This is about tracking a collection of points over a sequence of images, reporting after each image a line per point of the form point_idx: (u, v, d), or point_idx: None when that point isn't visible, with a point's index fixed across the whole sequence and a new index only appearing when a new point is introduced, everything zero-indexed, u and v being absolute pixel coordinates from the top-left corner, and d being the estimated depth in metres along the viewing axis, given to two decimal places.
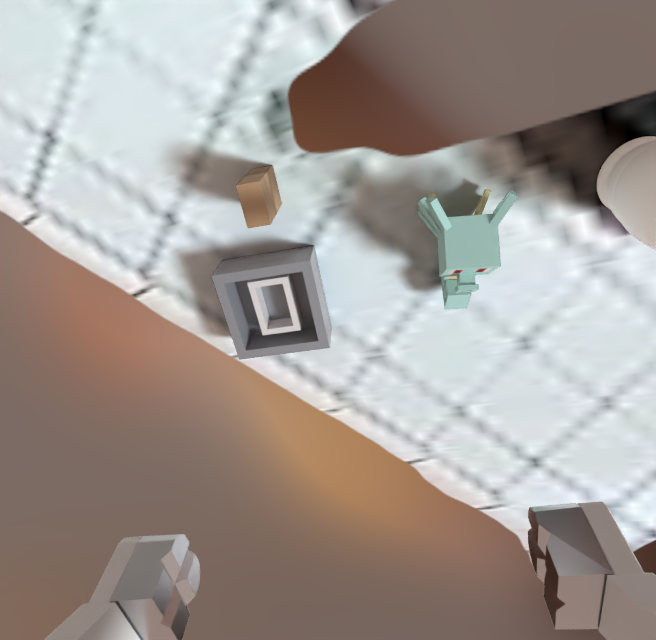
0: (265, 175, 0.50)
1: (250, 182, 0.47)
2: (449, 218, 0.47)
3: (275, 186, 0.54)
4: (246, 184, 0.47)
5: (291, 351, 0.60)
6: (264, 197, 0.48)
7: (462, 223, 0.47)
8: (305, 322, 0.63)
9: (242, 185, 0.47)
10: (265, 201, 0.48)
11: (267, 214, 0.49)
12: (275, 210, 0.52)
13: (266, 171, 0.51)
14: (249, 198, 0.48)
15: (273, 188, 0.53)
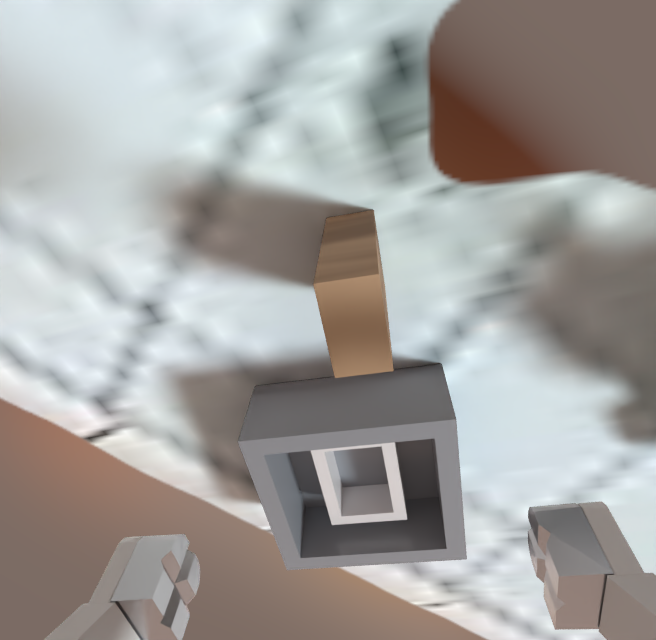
0: (376, 246, 0.20)
1: (351, 274, 0.18)
2: None
3: None
4: (341, 281, 0.18)
5: (389, 562, 0.31)
6: (384, 310, 0.19)
7: None
8: (409, 492, 0.33)
9: (331, 283, 0.18)
10: (385, 319, 0.19)
11: (388, 349, 0.19)
12: (387, 317, 0.23)
13: (372, 231, 0.22)
14: (346, 313, 0.18)
15: (380, 265, 0.23)
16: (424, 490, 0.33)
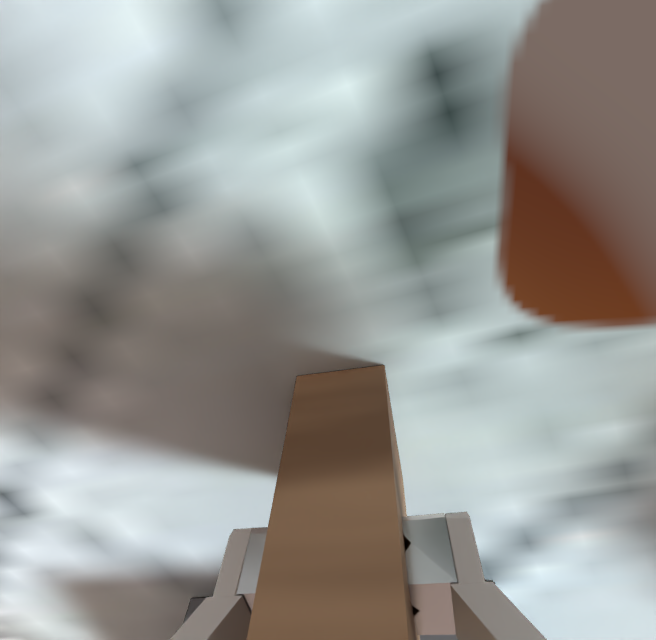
0: (398, 516, 0.09)
1: None
2: None
3: (396, 452, 0.13)
4: None
5: None
6: None
7: None
8: None
9: None
10: None
11: None
12: None
13: (385, 453, 0.10)
14: None
15: (399, 488, 0.12)
16: None
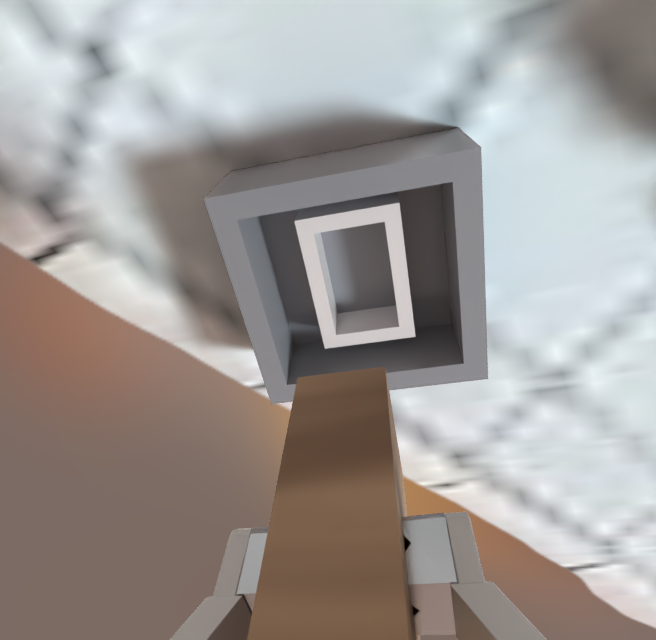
0: (398, 519, 0.09)
1: None
2: None
3: (397, 454, 0.13)
4: None
5: (394, 386, 0.26)
6: None
7: None
8: (417, 317, 0.28)
9: None
10: None
11: None
12: None
13: (386, 455, 0.10)
14: None
15: (400, 490, 0.12)
16: (435, 314, 0.28)
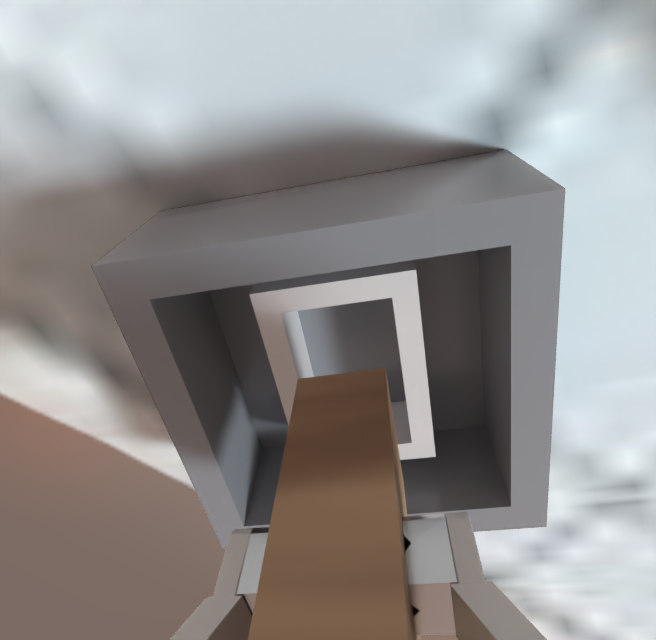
0: (398, 521, 0.09)
1: None
2: None
3: (397, 455, 0.13)
4: None
5: None
6: None
7: None
8: (436, 417, 0.20)
9: None
10: None
11: None
12: None
13: (386, 457, 0.10)
14: None
15: (400, 492, 0.12)
16: (462, 413, 0.19)
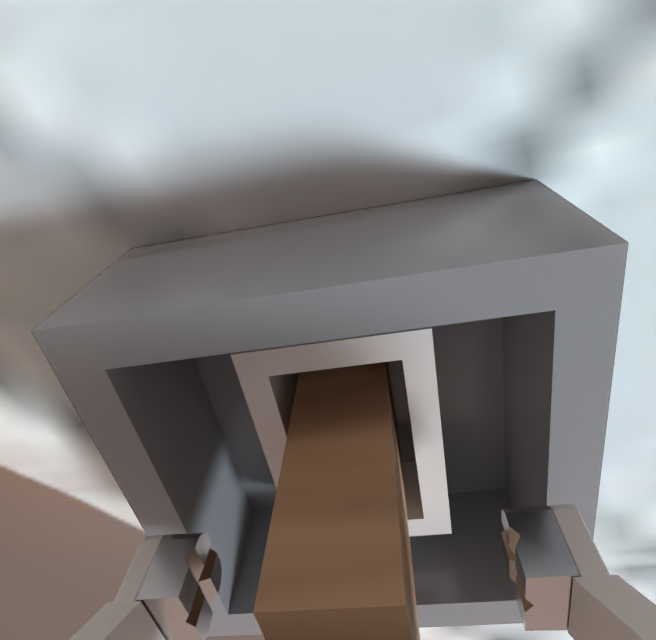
0: (394, 461, 0.10)
1: (341, 588, 0.08)
2: None
3: (394, 419, 0.14)
4: (319, 610, 0.08)
5: None
6: None
7: None
8: (451, 479, 0.17)
9: (295, 614, 0.08)
10: None
11: None
12: (409, 549, 0.13)
13: (384, 411, 0.11)
14: None
15: (396, 448, 0.13)
16: (480, 475, 0.17)
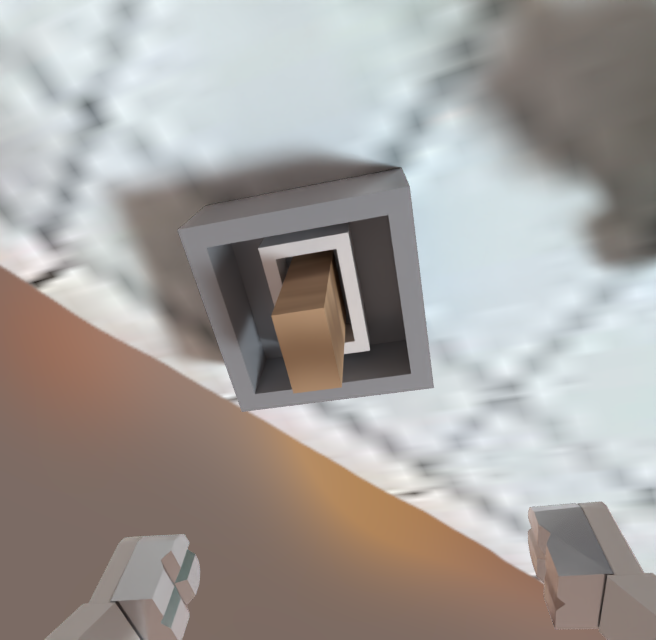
0: (328, 282, 0.24)
1: (302, 308, 0.22)
2: None
3: (338, 289, 0.28)
4: (294, 313, 0.22)
5: (351, 395, 0.29)
6: (331, 336, 0.23)
7: None
8: (375, 334, 0.31)
9: (286, 315, 0.22)
10: (332, 344, 0.23)
11: (336, 369, 0.23)
12: (342, 342, 0.27)
13: (327, 270, 0.26)
14: (300, 339, 0.22)
15: (337, 297, 0.27)
16: (390, 331, 0.31)
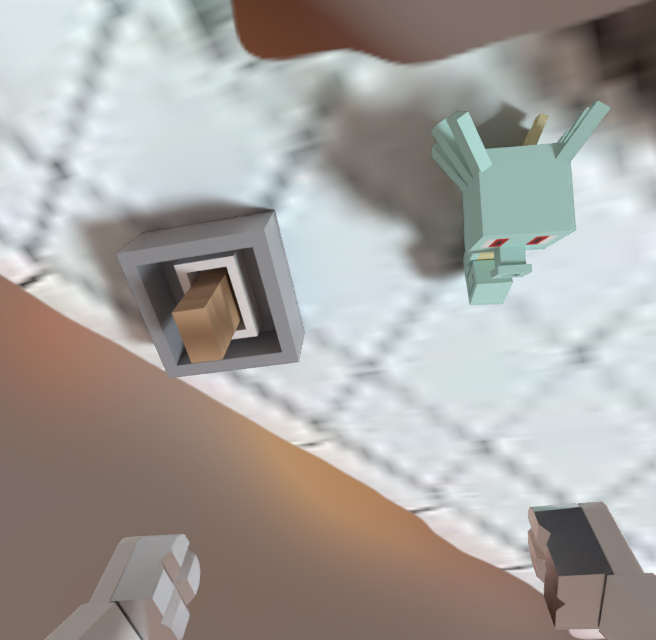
0: (216, 290, 0.37)
1: (192, 307, 0.34)
2: (487, 151, 0.28)
3: (234, 293, 0.41)
4: (186, 311, 0.34)
5: (243, 367, 0.41)
6: (212, 326, 0.35)
7: (510, 160, 0.28)
8: (266, 324, 0.43)
9: (181, 312, 0.34)
10: (214, 331, 0.35)
11: (217, 347, 0.35)
12: (232, 329, 0.39)
13: (219, 281, 0.38)
14: (191, 327, 0.35)
15: (230, 299, 0.40)
16: None
